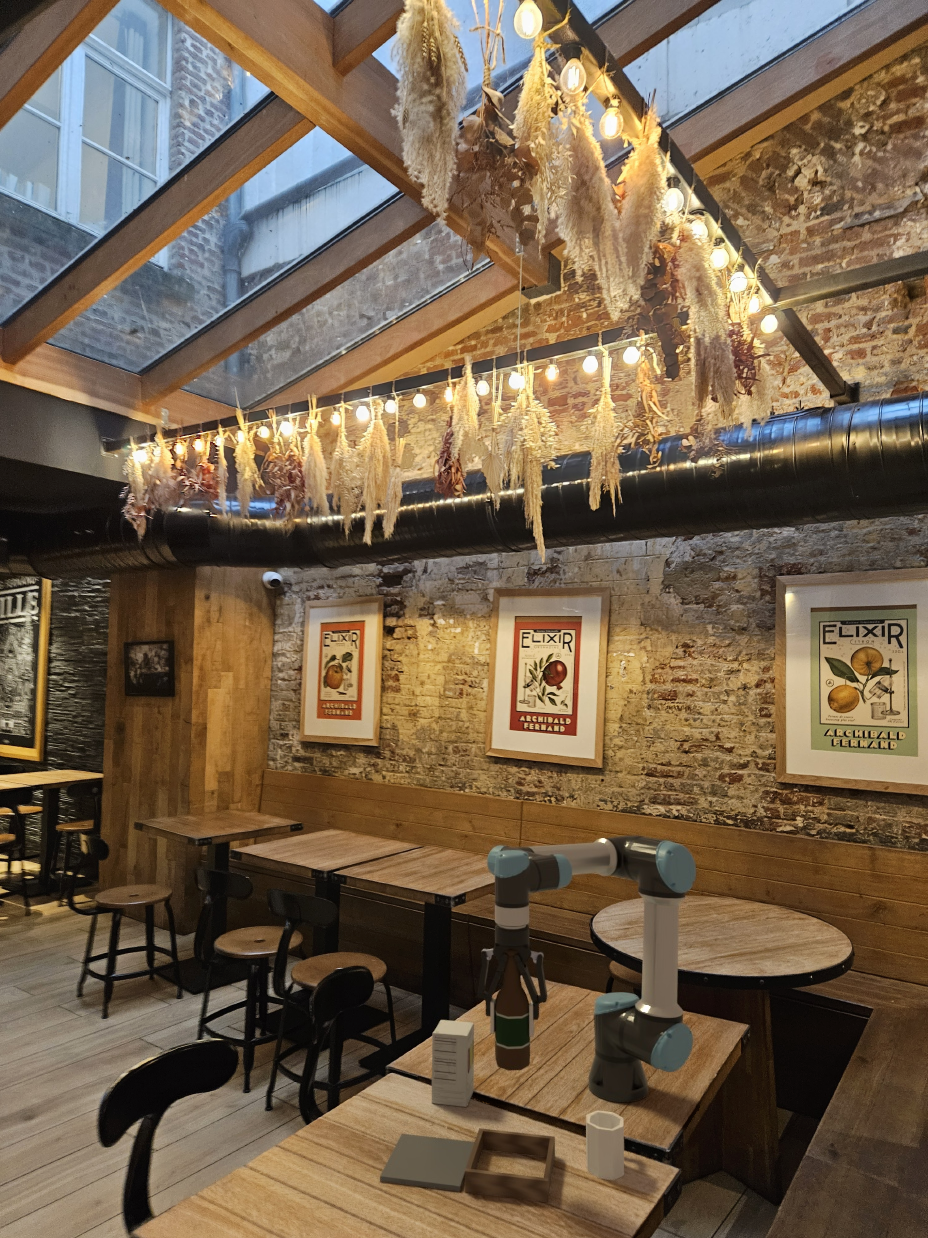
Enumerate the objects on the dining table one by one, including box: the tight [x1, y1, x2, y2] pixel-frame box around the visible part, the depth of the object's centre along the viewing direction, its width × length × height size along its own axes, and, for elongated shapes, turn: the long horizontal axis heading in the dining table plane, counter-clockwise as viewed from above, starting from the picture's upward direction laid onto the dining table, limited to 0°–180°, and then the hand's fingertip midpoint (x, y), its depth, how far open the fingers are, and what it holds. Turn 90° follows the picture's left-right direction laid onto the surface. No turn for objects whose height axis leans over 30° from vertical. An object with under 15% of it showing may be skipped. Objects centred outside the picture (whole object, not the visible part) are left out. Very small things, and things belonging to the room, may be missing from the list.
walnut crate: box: [464, 1127, 556, 1203], centre depth 171 cm, size 17×17×4 cm
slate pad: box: [379, 1133, 475, 1192], centre depth 174 cm, size 17×17×1 cm
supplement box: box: [431, 1019, 475, 1108], centre depth 204 cm, size 10×9×17 cm
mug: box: [585, 1109, 625, 1181], centre depth 175 cm, size 12×9×10 cm
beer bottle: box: [494, 949, 531, 1071], centre depth 174 cm, size 8×8×24 cm
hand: (512, 1033), depth 174 cm, fingers closed on beer bottle, 8 cm apart
